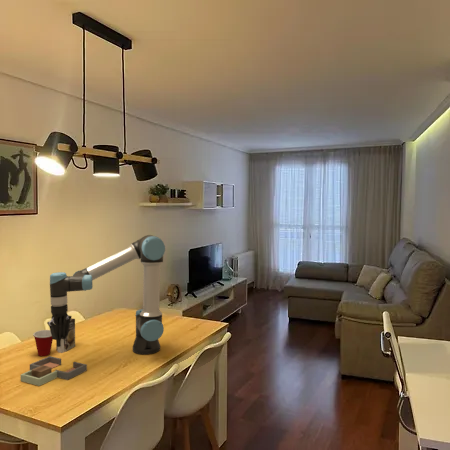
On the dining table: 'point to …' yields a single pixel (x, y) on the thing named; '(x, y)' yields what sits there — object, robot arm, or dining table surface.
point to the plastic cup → (43, 342)
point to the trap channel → (53, 363)
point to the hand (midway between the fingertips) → (60, 352)
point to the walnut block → (41, 371)
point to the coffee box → (69, 337)
